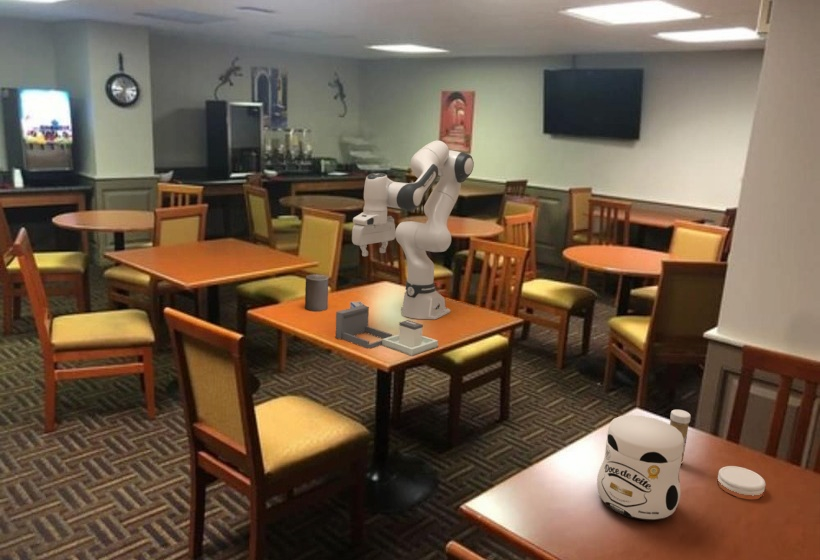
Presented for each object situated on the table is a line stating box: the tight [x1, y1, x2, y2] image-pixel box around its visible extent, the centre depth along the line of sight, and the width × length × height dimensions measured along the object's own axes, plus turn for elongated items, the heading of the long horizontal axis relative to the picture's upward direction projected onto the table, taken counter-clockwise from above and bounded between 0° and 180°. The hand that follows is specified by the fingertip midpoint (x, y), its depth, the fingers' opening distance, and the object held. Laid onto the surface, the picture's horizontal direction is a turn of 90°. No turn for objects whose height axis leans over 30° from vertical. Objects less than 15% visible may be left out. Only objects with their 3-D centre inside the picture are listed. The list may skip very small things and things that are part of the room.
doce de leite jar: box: [596, 414, 684, 522], centre depth 145 cm, size 17×17×18 cm
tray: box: [381, 333, 439, 357], centre depth 241 cm, size 14×14×2 cm
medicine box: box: [349, 301, 366, 308], centre depth 262 cm, size 8×4×9 cm, turn 23°
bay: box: [335, 304, 393, 349], centre depth 245 cm, size 14×17×10 cm
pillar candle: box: [304, 274, 330, 312], centre depth 281 cm, size 10×10×15 cm
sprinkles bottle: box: [669, 409, 692, 462], centre depth 165 cm, size 5×5×14 cm
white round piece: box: [717, 465, 766, 496], centre depth 156 cm, size 10×10×4 cm
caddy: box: [398, 319, 424, 348], centre depth 241 cm, size 5×7×8 cm, turn 49°
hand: (373, 254), depth 248 cm, fingers open, 8 cm apart
